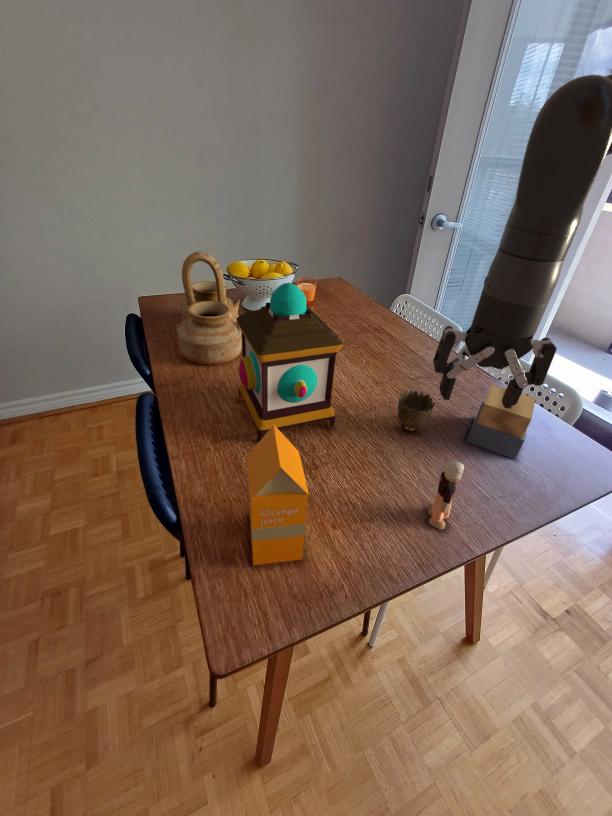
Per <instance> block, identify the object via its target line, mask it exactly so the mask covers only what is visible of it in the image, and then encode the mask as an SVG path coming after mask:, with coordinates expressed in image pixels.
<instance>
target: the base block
mask: <svg viewBox="0 0 612 816" xmlns="http://www.w3.org/2000/svg"><path fill="white" fill-rule="evenodd" d="M484 403H485V401H482V402H481V404H480V405H479V406H480V407H479V409H478V411H477V413H476V417H475V419H474V421H473V424H472V426H471V429H470V431H469V434H468V437H467V440H466V442H467V443H470V444H471V445H472V444H473V445H475V446H478V447H481V448H483V449H486V450H488V451H491V452H495V453H497V454H500V455H502V456H505V457H508V458H510V459H513V460H516V459H517V457H518V455H519V453H520V451H521V449H522V448H523V445H524V443H525V439H526V435H527V431H528V429H527V430H526V432H525V434H524V436H523V438H519V437H516V436H513V435H510V434H507V433H504V432H501V431H498V430H495V429H492V428H490V427H487V426H484V425H481V424H478V423H477V420H478V418H479V415H480V413H481V410H482V408H483V405H484Z"/></svg>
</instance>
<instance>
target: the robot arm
mask: <svg viewBox="0 0 612 816" xmlns="http://www.w3.org/2000/svg"><path fill="white" fill-rule="evenodd" d="M609 155H612V73H611V74H608V75H605V76H603V75H600V74H586V75H582V76H578V77H575V78H573V79H571V80H569V81H568V82H565V83H564V84H563V85H561V86H560V87H559V88H557V89H556V90H555V91H554V92H553V93H552V94H551V95H550V96H549V97H548V99H547V100H546V101H545V102H544V103H543V105H542V107H541V108H540V110H539V112H538V114H537V116H536V118H535V120H534V123H533V125H532V128H531V131H530V134H529V137H528V141H527V144H526V147H525V151H524V156H523V160H522V165H521V169H520V174H519V177H518V178H519V179H518V183H517V188H516V194H515V198H514V202H513V206H512V208H511V210H510V213H509V216H508V218H507V221H506V224H505V227H504V229H503V233H502V236H501V239H500V241H499V246H498V249H497V251H496V254H495V255H494V258H493V259H492V262H491V264H490V265H489V269H488V271H487V275H486V276H485V278H484V281H483V288H482V290H481V293H480V297H479V299H478V303H477V306H476V309H475V313H474V315H473V319H472V321H471V325H470V326H469V328H468V329H467V330H466V331H462V330H456V329H454V327H453V326H451V325H447V326H445V327H444V328H443V331H442V334H441V336H440V340H439V343H438V345H437V348H436V351H435V354H434V357H433V360H432V363H433V368H434V371H435V373H437V374H442V377H441V381H440V384H439V386H438V387H439V388H438V389H439V393H440V396H441V397H442V399H443V400H444V401H449V400H450V399H451V395H452V393H453V391H454V390H453V389H454V386H455V384H456V380H457V379H456V378H457V376H459V375H461V373H463V372H466V371H469V370H471V369H472V368H473V367H475V366H476V365H477V366H478V367H480V368H493V369H497V370H504V368H508V367H509V370H510V372H511V375H512V376H513V379H509V382H508V384H507V386H506V388H505V389H506V391H505V393H504V396H503V398H502V404H503V406H504V408H508V409H510V408H511V407H512V405H515V404H516V403H517V402H518V400H519V398H520V395H521V394H523V391H524V389H525V388H526V387H528V386H531V385H534V386H536V387H539V386H542V385H543V384H544V382H545V380H546V378H547V375H548V372H549V370H550V367H551V364H552V362H553V360H554V358H555V355H556V352H557V350H558V349H557V346H556V345H555V343H554V342H553V341H552V339H550V338H549V337H543V338H541V339H534V336H535V335H536V333H537V331H538V328H539V327H540V323H541V321H542V319H543V316H544V314H545V312H546V310H547V308H548V305H549V303H550V300H551V298H552V297H553V293H554V291H555V289H556V286H557V284H558V281H559V279H560V275H561V273H562V268H563V265H564V263H565V259H566V257H567V254H568V252H569V250H570V247H571V245H572V243H573V241H574V239H575V236H576V233H577V231H578V228H579V225H580V223H581V220H582V215H583V212H584V205H585V202H586V200H587V197H588V196H589V193H590V191H591V189H592V188H593V187H592V186H593V185H594V182H595V180H596V178H597V176H598V174H599V171H600V169H601V167H602V166H603V163H604V160H605V159H606V156H609ZM461 342H464V344H465V347H464V348H462V349H461V350H460V351H458V353H457V354H456V356H455V357H453V358H452V359H451V360H449V357H450V354H451V352H452V349H453V348H456V347H457V346H458V345H459V344H460V343H461ZM531 351H532V353H533V355H534V357H533V360H532V363H531V365H530V368H529V371H526V372H524V370H523V367H522V365H521V363H520V359H521V358H523V357H524V356H526V355H528V354H529V352H531ZM448 360H449V361H448Z"/></svg>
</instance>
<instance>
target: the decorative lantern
mask: <svg viewBox="0 0 612 816" xmlns="http://www.w3.org/2000/svg"><path fill="white" fill-rule="evenodd" d="M236 321H237V324H238V326H239V328H240V329H241V332H242V350H241V352H242V358H241V359H240V362H239V365H238V375H239V380H240V385H239V386H238V391H237V392H238V398H239V400H240V401H242V402H243V403H244V405H245V407H246V410H247V412H248V414H249V416H250V418H251V420H252V423H253V425H254V427H255V430H256V435H257V439H258V440H257V441H258V442H259V441H260V440H261V439H262V438H263V437H264V436H265V434H266V433H267V432H268V431H269V430H270V429H271V427H272V426H273V424H274V425H275V426H276V427H277V428H278V430H279V431H281V430H283V429H289V428H294V427H299V426H304V425H310V424H314V423H319V422H322V421H324V422H325V421H326V425H327V427H328V429H329V428H330V429H331V428H333V427H334V426H335V423H336V413H335V410H334V408H333V406H332V394H333V384H334V377H335V365H336V359H337V355H338V352H339V351H340V350H341V348H342V347H343V345H344V343H343V341H342V340H341V339H340V337H339V336H338V335H337V334H336V332H335V331H334V330H332V328H330V326H328V324H326V322H325V321H323V320H322V318H320V316H319V315H318V314H316V313H315V311H314V310H312V308H310V306H308V305H307V297H306V294H305V293H304V292H303V290H301V288H300V287H299V286H298V285H296V284H295V283H293V282H285V283H284V282H283V283H282V284H280V285H279V286H277V287H276V289H274V291H272V293H271V294H270V300H269V302H266V303H265V305H264V306H261V307H260V308H259V309H255V310H247V311H245V312H244V313H241V314H240V315H238V317H237V318H236Z"/></svg>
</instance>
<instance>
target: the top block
mask: <svg viewBox="0 0 612 816" xmlns="http://www.w3.org/2000/svg"><path fill="white" fill-rule="evenodd" d="M505 391H506V388H505V387H501V386H498V385H496V384H495V385H494V384H491V385H490V388H489V390H488V391H487V395H486V398H485V400H484V402H485V403H484V405H483V408H482V410H481V413H480V415H479V418H478V420H477V423H478V424H481V425H484V426H487V427H490V428H492V429H495V430H498V431H501V432H504V433H507V434H510V435H513V436H516V437H519V438H523V436H524V434H525V432H526V433H527V431H528V427H529V425H530V424H531V421H532V420H533V414H534V409H535V405H536V400H537V398H536V397H535V396H531V395H528V394H524V393H521V395H520V398H519V400H518V402H517V403H516V404H515V405H512V407H511V408H510V409H508V408H504V406H503V404H502V398H503V396H504V393H505ZM526 430H527V431H526Z"/></svg>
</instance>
